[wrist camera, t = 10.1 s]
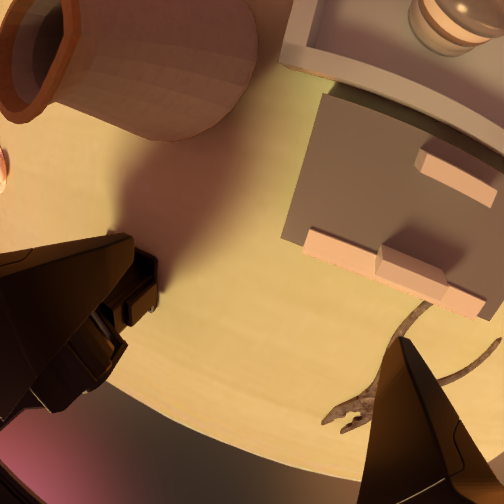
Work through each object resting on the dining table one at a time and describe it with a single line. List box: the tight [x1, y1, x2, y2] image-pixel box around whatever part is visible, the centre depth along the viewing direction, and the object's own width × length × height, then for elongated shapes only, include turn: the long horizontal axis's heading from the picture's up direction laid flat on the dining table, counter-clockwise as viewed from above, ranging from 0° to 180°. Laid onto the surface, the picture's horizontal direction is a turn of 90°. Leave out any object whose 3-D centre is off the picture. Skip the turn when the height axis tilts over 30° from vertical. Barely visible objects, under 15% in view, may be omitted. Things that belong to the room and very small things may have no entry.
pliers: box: [321, 301, 500, 434], centre depth 23 cm, size 10×1×20 cm
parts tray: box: [278, 0, 504, 158], centre depth 10 cm, size 16×12×3 cm
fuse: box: [408, 0, 504, 57], centre depth 8 cm, size 4×4×7 cm
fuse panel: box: [281, 93, 504, 321], centre depth 15 cm, size 16×9×4 cm, turn 77°
